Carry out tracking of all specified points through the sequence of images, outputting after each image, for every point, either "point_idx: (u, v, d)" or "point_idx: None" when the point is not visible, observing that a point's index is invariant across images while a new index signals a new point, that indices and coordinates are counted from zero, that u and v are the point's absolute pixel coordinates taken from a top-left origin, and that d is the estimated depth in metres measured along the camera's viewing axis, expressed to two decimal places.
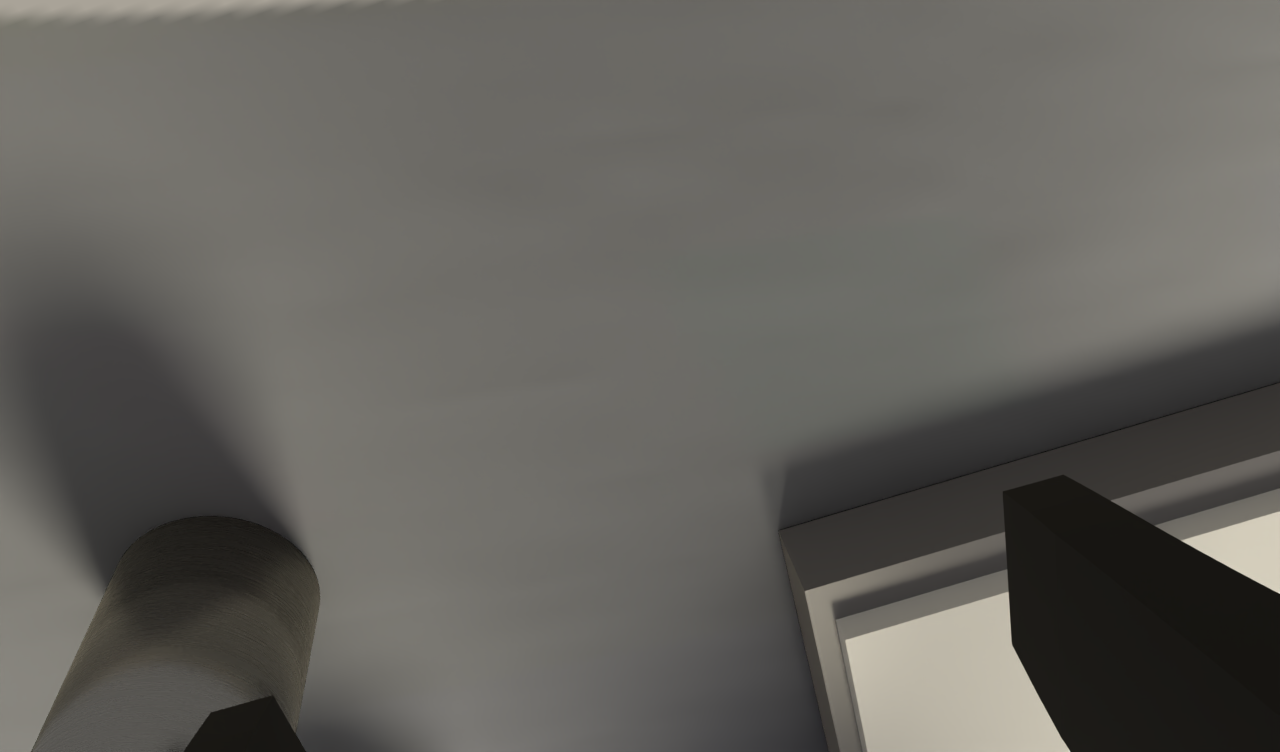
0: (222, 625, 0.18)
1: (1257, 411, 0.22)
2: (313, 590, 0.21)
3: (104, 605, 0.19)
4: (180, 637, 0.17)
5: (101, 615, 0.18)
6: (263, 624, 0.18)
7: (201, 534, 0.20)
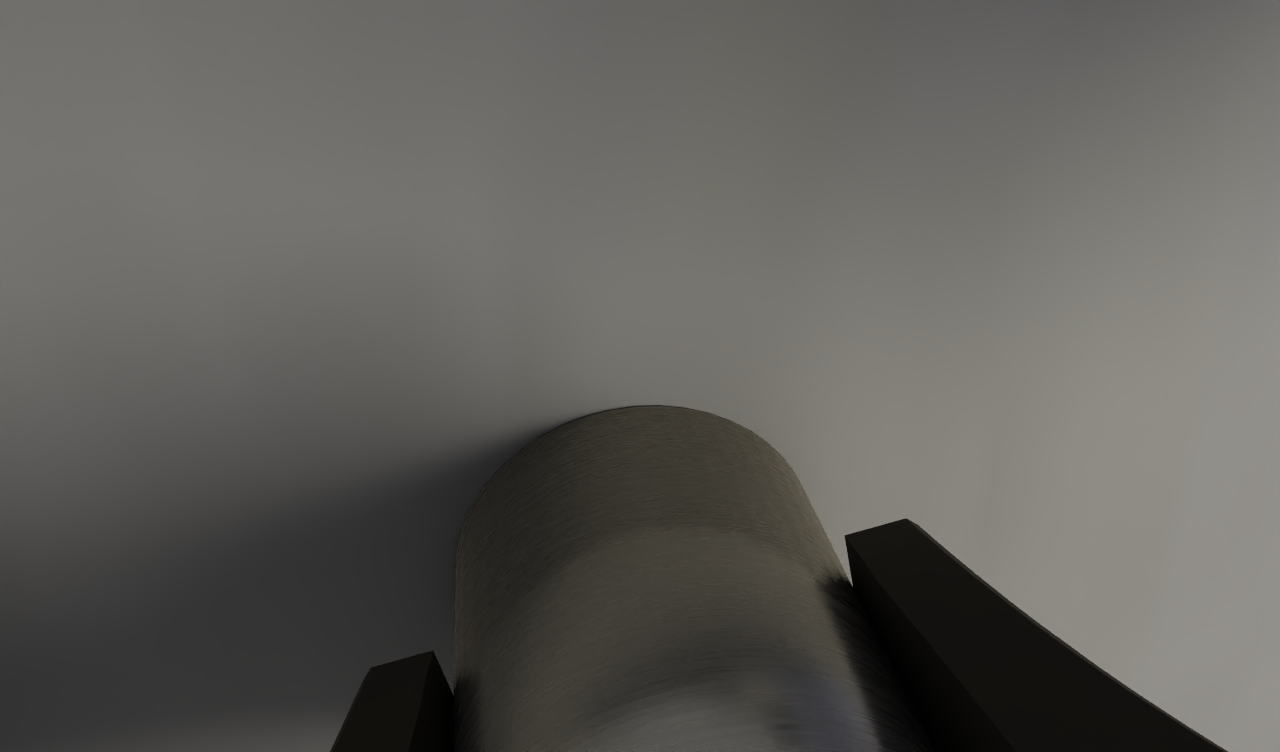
0: None
1: None
2: None
3: None
4: None
5: None
6: None
7: None
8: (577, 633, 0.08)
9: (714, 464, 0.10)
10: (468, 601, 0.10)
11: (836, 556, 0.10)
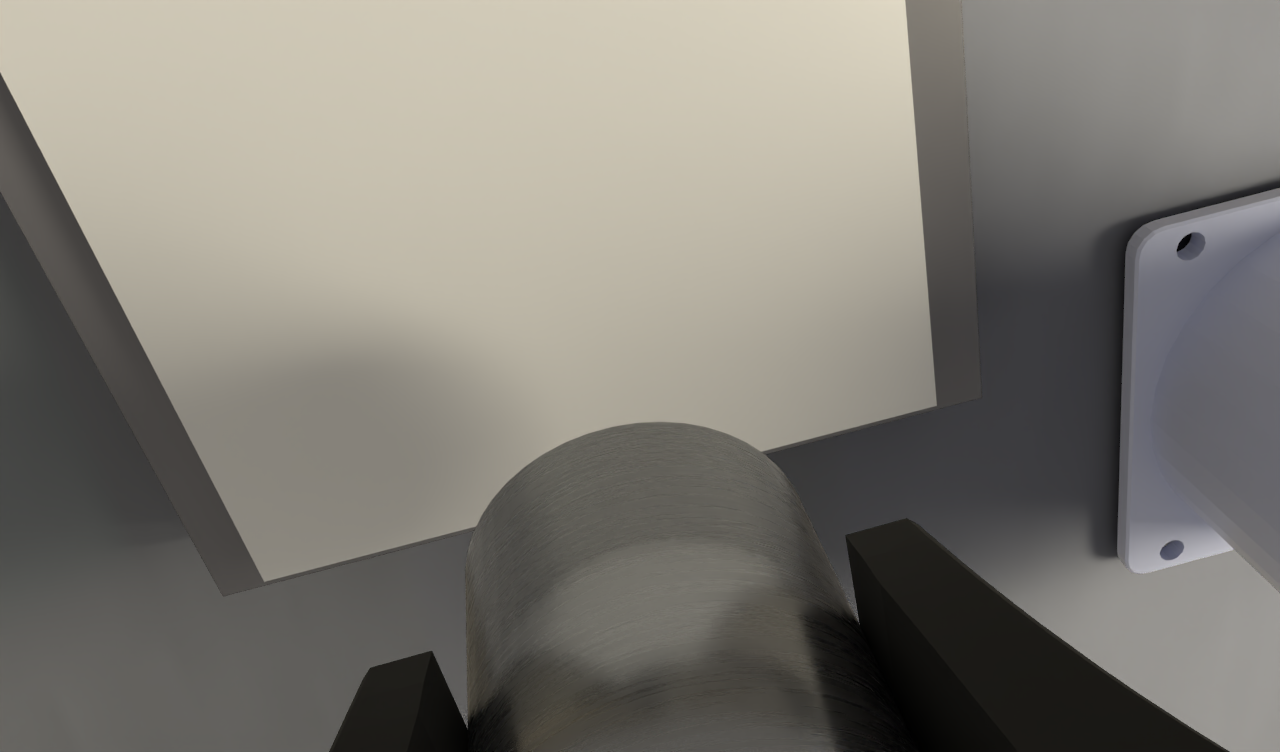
0: None
1: None
2: None
3: None
4: None
5: None
6: None
7: None
8: (585, 653, 0.08)
9: (712, 482, 0.10)
10: (479, 615, 0.10)
11: (829, 566, 0.10)
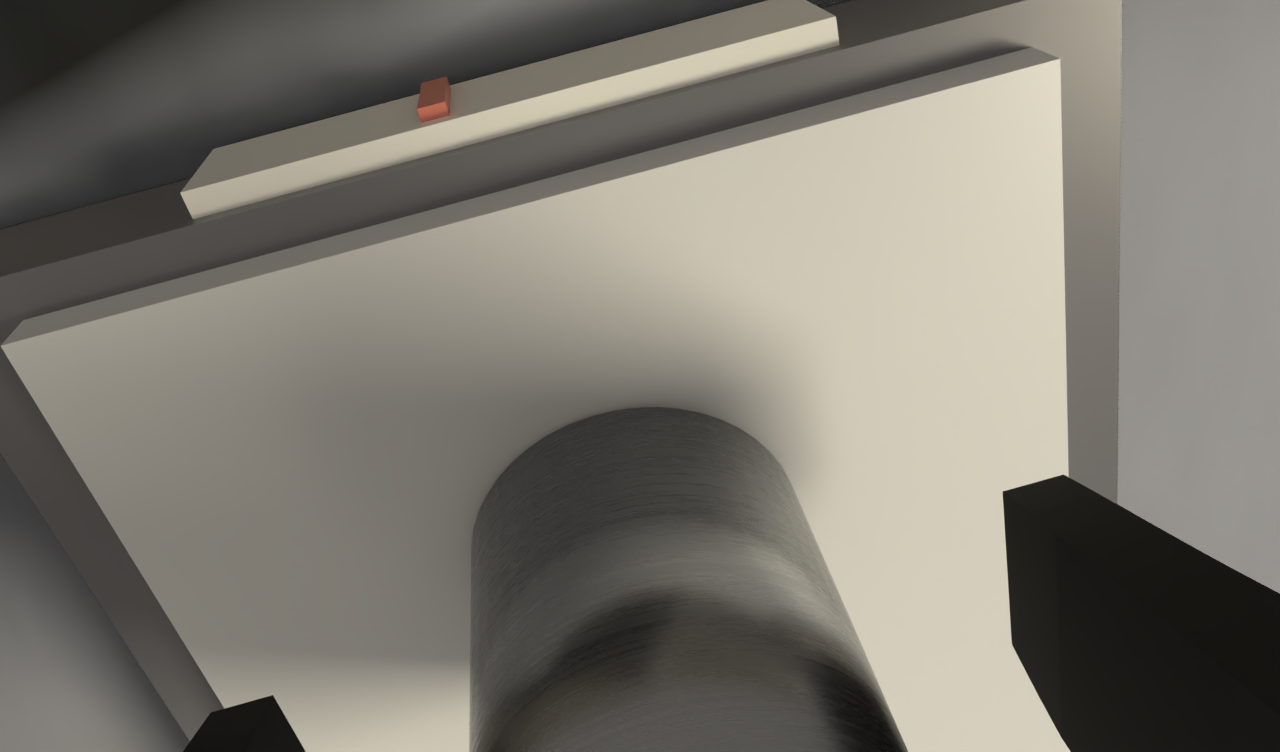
0: None
1: None
2: None
3: None
4: None
5: None
6: None
7: None
8: (579, 617, 0.09)
9: (705, 463, 0.11)
10: (483, 585, 0.11)
11: (816, 546, 0.11)
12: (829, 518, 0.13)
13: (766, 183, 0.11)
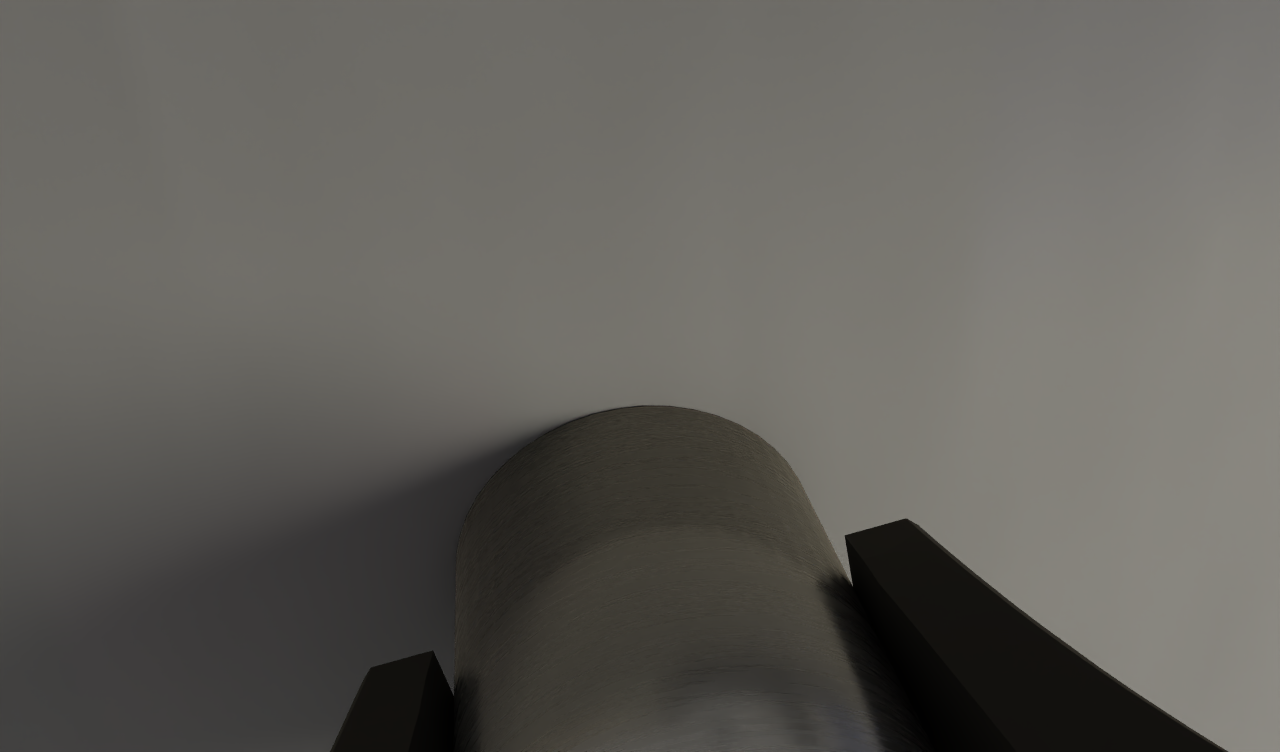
0: (478, 716, 0.08)
1: None
2: (622, 431, 0.10)
3: None
4: None
5: None
6: (530, 621, 0.08)
7: None
8: None
9: None
10: None
11: None
12: None
13: None
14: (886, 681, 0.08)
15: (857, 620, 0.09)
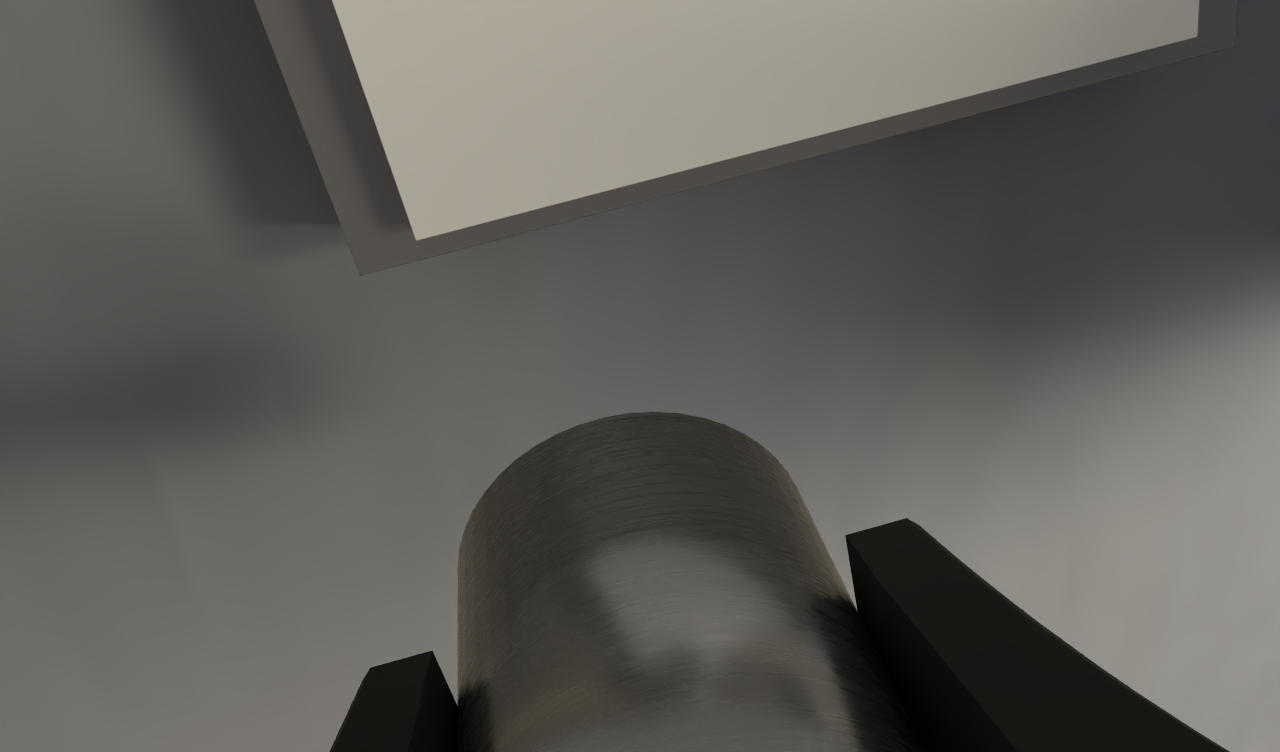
0: (489, 711, 0.08)
1: None
2: (632, 436, 0.10)
3: None
4: None
5: None
6: (543, 620, 0.09)
7: (458, 592, 0.11)
8: None
9: None
10: None
11: None
12: None
13: None
14: (886, 693, 0.08)
15: (858, 631, 0.09)
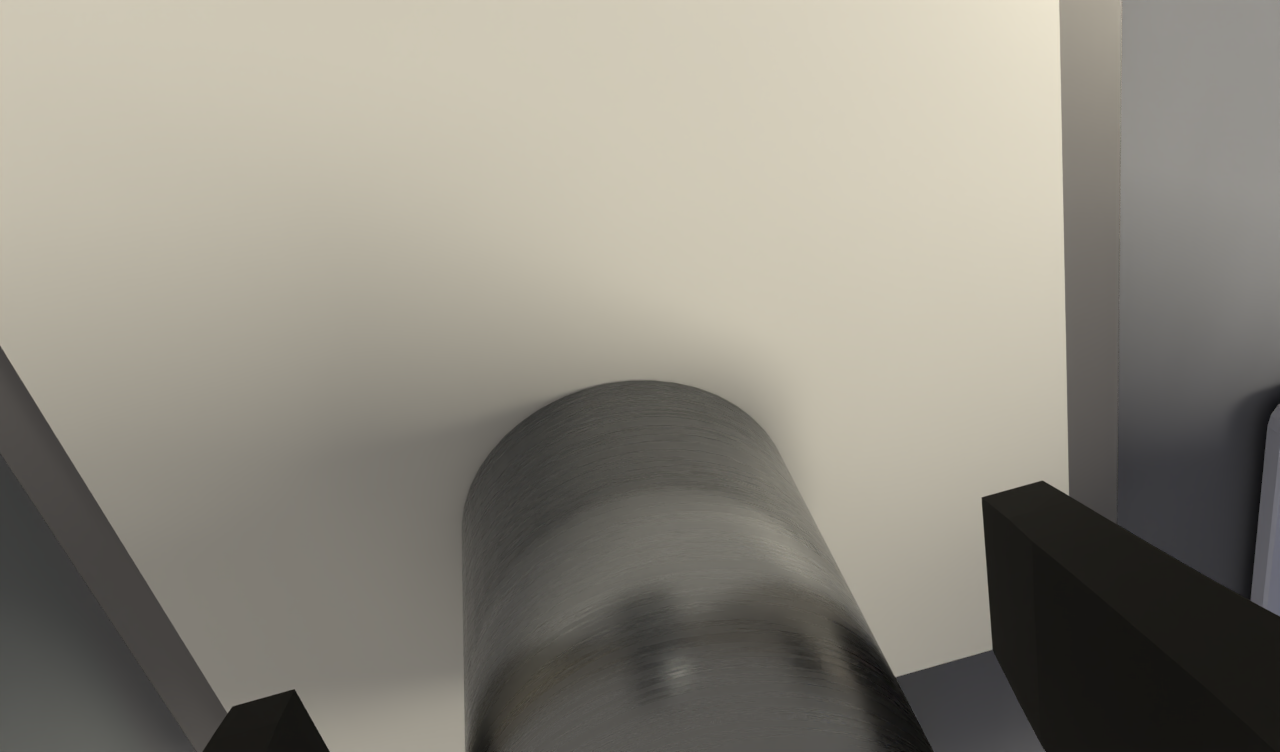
0: (499, 638, 0.09)
1: None
2: (633, 400, 0.11)
3: None
4: (473, 722, 0.09)
5: None
6: (551, 557, 0.09)
7: (463, 544, 0.11)
8: None
9: None
10: None
11: None
12: None
13: None
14: (865, 631, 0.09)
15: (840, 578, 0.10)
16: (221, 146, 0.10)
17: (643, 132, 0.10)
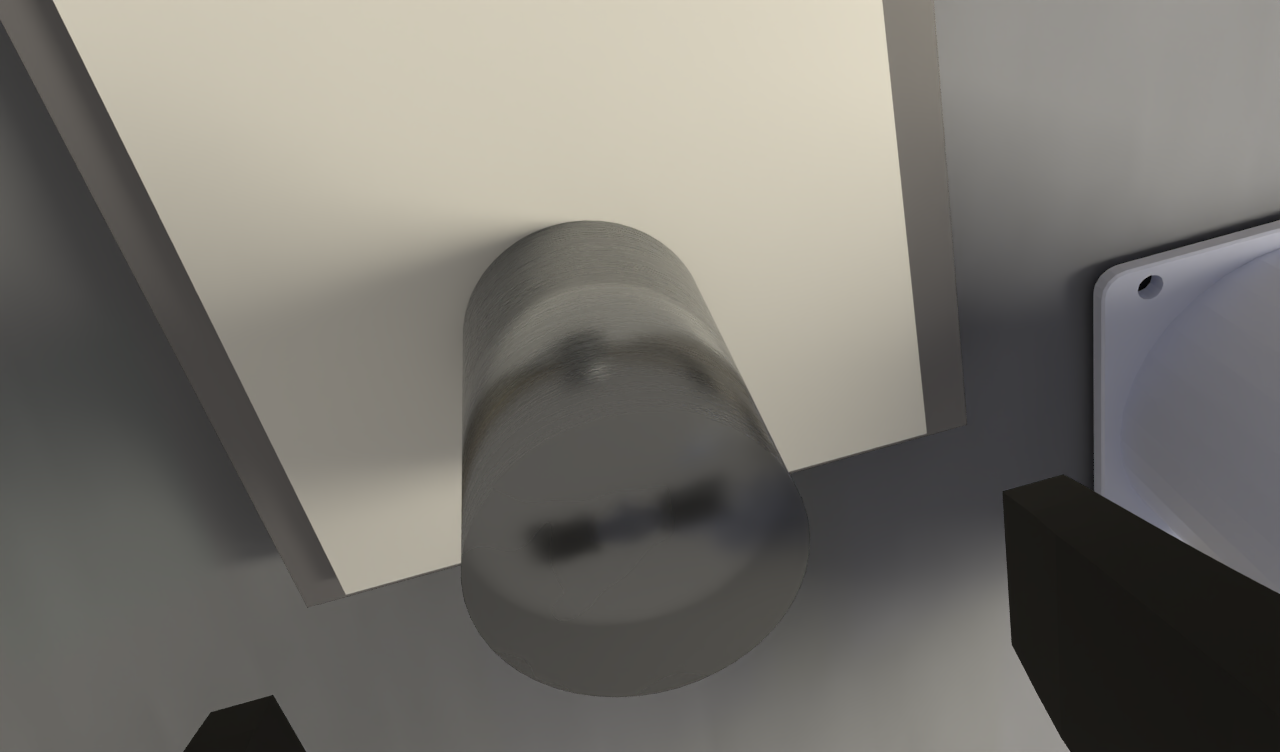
0: (485, 361, 0.14)
1: None
2: (584, 230, 0.16)
3: None
4: (467, 412, 0.13)
5: None
6: (521, 312, 0.14)
7: (464, 336, 0.16)
8: None
9: None
10: None
11: None
12: None
13: None
14: (728, 359, 0.14)
15: (718, 336, 0.14)
16: (299, 41, 0.14)
17: (589, 35, 0.15)
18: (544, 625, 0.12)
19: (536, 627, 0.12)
